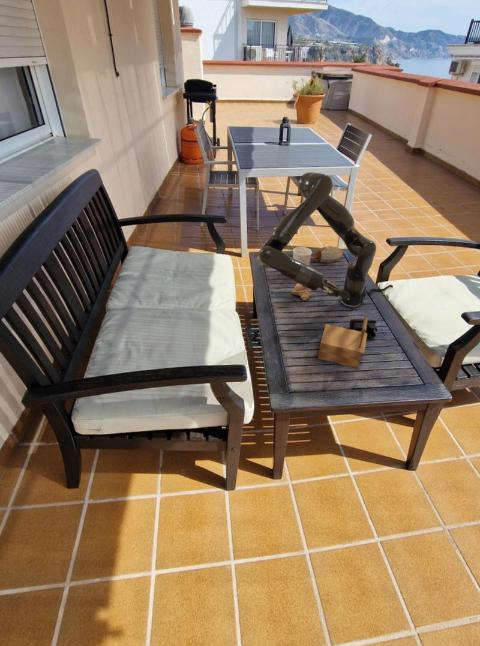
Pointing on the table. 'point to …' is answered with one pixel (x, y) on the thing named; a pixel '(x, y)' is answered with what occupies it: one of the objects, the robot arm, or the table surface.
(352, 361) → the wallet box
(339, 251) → the nautilus
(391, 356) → the table surface
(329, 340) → the box lid
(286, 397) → the table surface
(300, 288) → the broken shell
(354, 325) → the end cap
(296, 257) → the candle holder
